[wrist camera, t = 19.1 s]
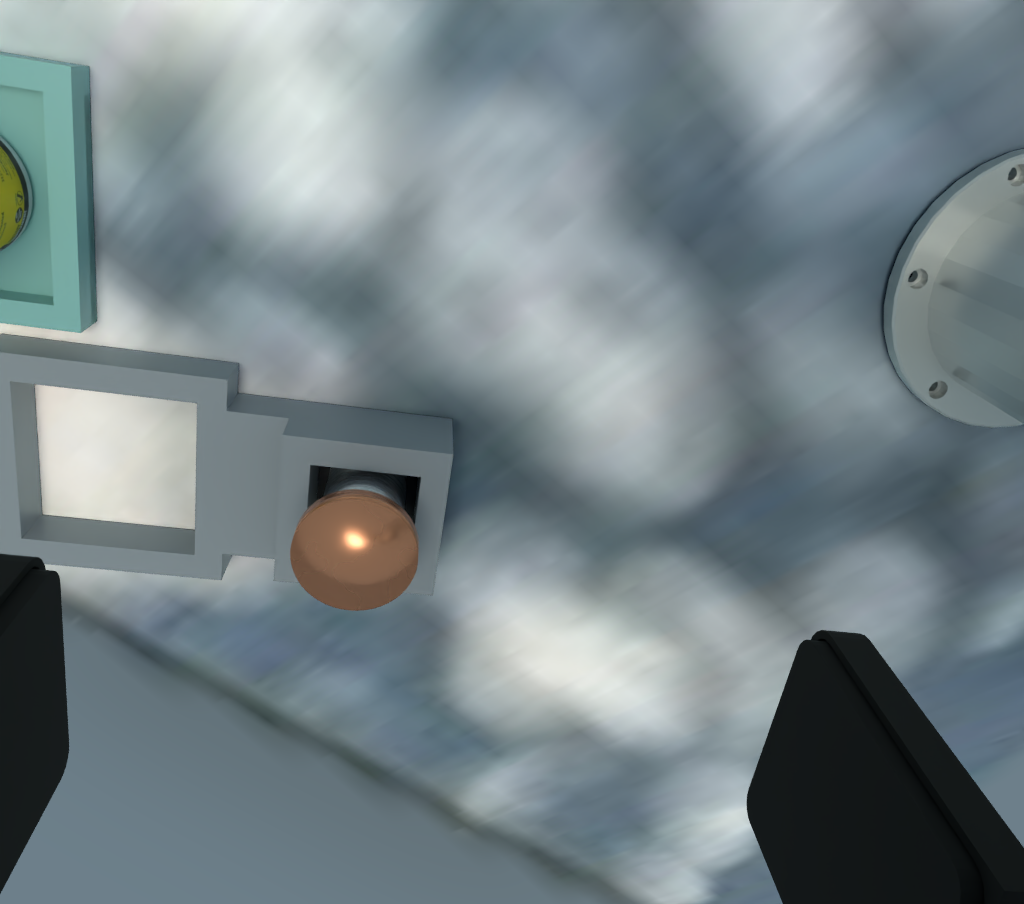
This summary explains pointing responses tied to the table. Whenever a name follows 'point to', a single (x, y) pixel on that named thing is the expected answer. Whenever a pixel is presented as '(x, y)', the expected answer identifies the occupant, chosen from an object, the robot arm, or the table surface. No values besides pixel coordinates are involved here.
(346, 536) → the plunger
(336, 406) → the housing
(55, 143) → the tray
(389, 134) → the table surface
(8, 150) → the supplement bottle
